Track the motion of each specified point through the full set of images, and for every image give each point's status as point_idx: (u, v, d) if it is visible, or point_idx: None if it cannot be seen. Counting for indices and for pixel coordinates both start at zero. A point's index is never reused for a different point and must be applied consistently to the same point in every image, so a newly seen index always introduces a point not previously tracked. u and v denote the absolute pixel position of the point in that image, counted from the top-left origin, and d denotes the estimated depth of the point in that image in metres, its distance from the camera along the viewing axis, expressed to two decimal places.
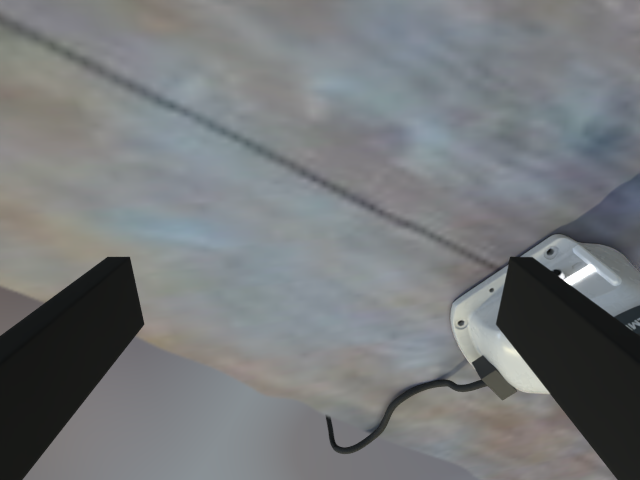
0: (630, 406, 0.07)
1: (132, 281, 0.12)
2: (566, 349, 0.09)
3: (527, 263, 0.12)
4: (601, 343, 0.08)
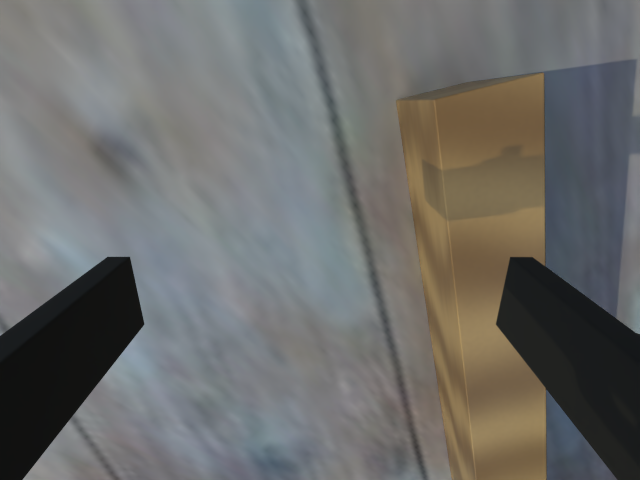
0: (630, 406, 0.07)
1: (132, 281, 0.12)
2: (566, 349, 0.09)
3: (527, 263, 0.12)
4: (601, 343, 0.08)
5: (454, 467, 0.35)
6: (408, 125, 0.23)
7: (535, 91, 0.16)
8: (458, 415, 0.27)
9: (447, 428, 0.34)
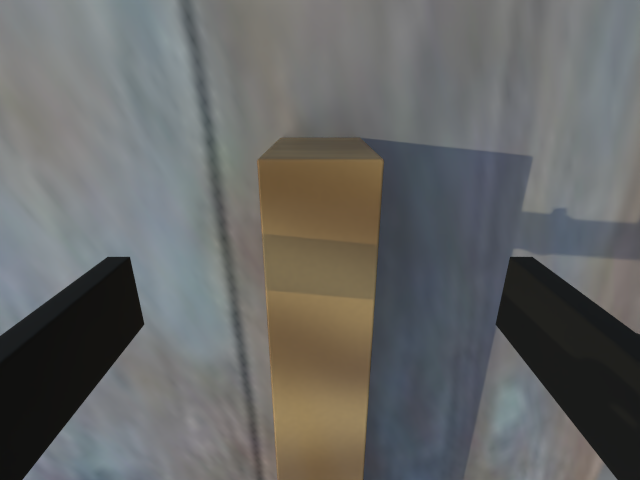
0: (630, 406, 0.07)
1: (132, 281, 0.12)
2: (566, 349, 0.09)
3: (527, 263, 0.12)
4: (601, 343, 0.08)
5: None
6: None
7: (372, 177, 0.14)
8: None
9: None
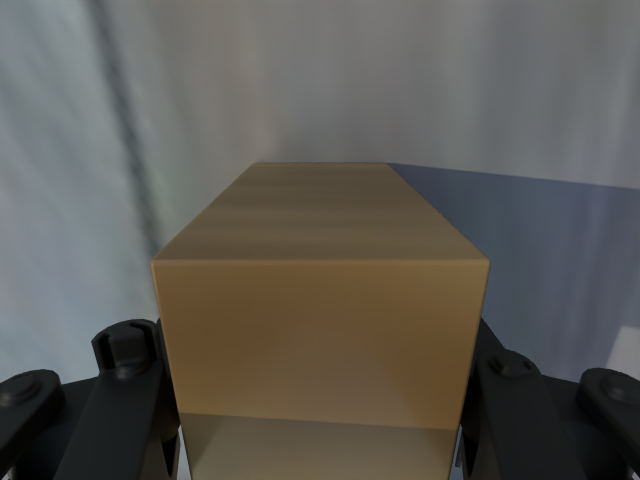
0: None
1: None
2: None
3: None
4: None
5: None
6: None
7: (456, 304, 0.05)
8: None
9: None
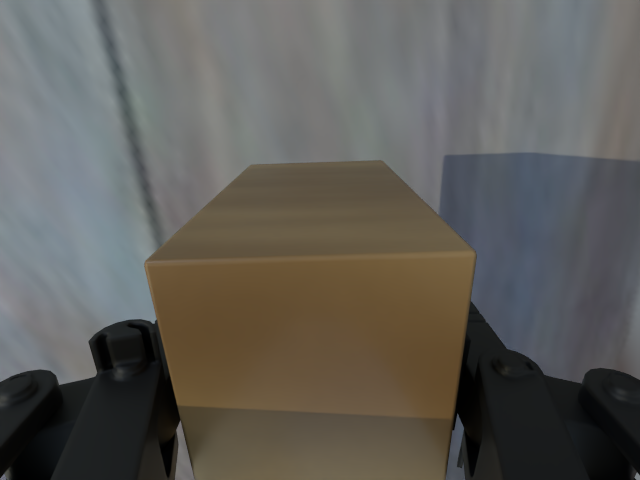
0: None
1: None
2: None
3: None
4: None
5: None
6: None
7: (444, 296, 0.06)
8: None
9: None
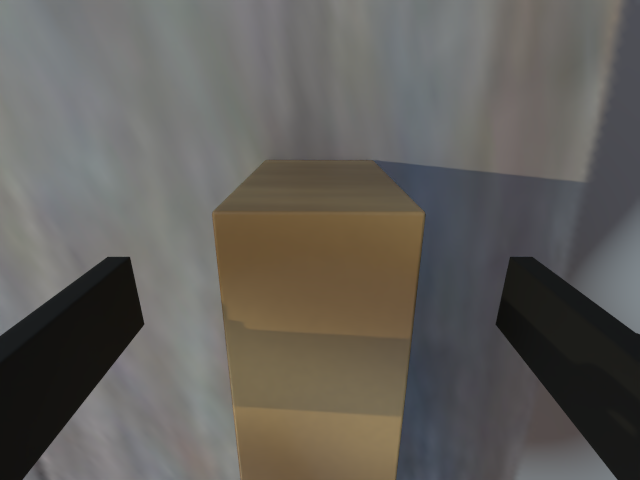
0: (630, 406, 0.07)
1: (132, 281, 0.12)
2: (566, 349, 0.09)
3: (527, 263, 0.12)
4: (601, 343, 0.08)
5: None
6: None
7: (405, 241, 0.09)
8: None
9: None
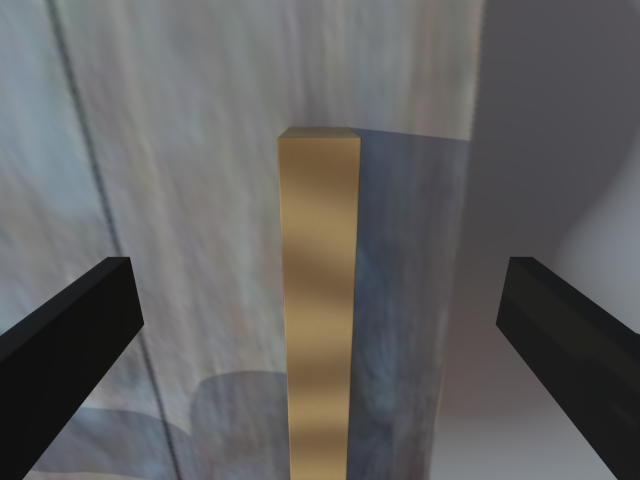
0: (630, 406, 0.07)
1: (132, 281, 0.12)
2: (566, 349, 0.09)
3: (527, 263, 0.12)
4: (601, 343, 0.08)
5: None
6: None
7: (353, 150, 0.22)
8: None
9: None
